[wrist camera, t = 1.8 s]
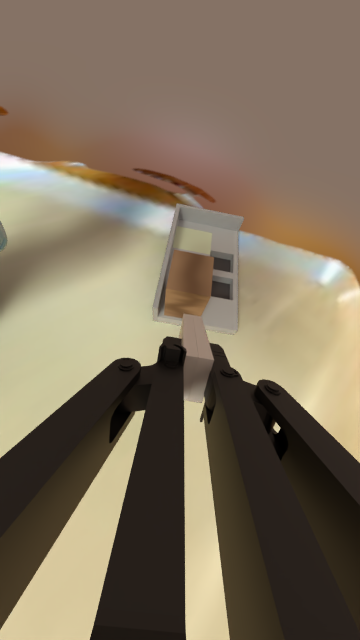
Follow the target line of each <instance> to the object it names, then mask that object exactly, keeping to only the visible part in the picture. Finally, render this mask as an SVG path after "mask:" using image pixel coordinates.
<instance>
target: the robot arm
mask: <svg viewBox="0 0 360 640" xmlns="http://www.w3.org/2000/svg"><path fill="white" fill-rule="evenodd" d="M6 245H7V235H6V232H5V229H4V227H3V225H2V223H1V221H0V251H2V250H3V249H4V248H5V247H6ZM203 397H205V404H204V407H203V411H202V414H201V418H200V422H202V420H203V418H204V423H205V432H206V440H207V449H208V457H209V466H210V474H211V483H212V491H213V499H214V508H215V516H216V525H217V533H218V542H219V550H220V559H221V567H222V576H223V584H224V593H225V601H226V610H227V618H228V627H229V635H230V640H360V463H359V462H358V461H357V460H356V459H355V458H354V457H353V456H352V455H351V454H350V453H349V452H348V451H347V450H346V449H345V448H344V447H343V446H342V445H341V444H340V443H339V442H338V441H337V440H336V439H335V438H334V437H333V436H332V435H331V434H329V433H328V432H327V431H326V430H325V429H324V428H323V427H322V426H321V425H320V424H319V423H318V422H317V421H316V420H315V419H314V418H313V417H312V416H311V415H310V414H309V413H308V412H307V411H306V410H305V409H304V408H303V407H302V406H301V405H300V404H299V403H298V402H297V401H296V400H295V399H294V398H293V397H292V396H291V395H290V394H289V393H288V392H287V391H286V390H285V389H284V388H282V387H281V386H280V385H278V384H276V383H275V382H273V381H270V380H264V379H263V380H259V381H258V383H257V385H253V384H250V383H248V382H245V381H243V379H242V377H241V375H240V374H239V372H238V371H236V370H235V369H233V368H231V367H230V365H229V362H228V360H227V358H226V355H225V353H224V350H223V348H222V347H220V346H219V345H218V344H212V343H209V341H208V337H207V334H206V330H205V327H204V323H203V320H202V317H200V316H195V315H189V314H183V319H182V324H181V329H180V334H179V338H174V337H168V336H167V337H166V338H164V339H163V343H162V344H161V346H160V347H159V353H158V360H157V362H156V363H155V364H153V365H150V366H142V367H141V364H140V363H139V362H138V361H137V360H135V359H132V358H121V359H117V360H115V361H114V362H112V363H111V364H110V365H109V366H108V367H107V368H105V369H104V370H103V371H102V372H101V373H100V374H98V375H97V376H96V377H95V378H94V379H93V380H91V381H90V382H89V383H88V384H87V385H85V386H84V387H83V388H82V389H81V390H80V391H78V392H77V393H76V394H75V395H74V396H73V397H71V398H70V399H69V400H68V401H67V402H66V403H64V404H63V405H62V406H61V407H60V408H59V409H57V410H56V411H55V412H54V413H53V414H52V415H50V416H49V417H48V418H47V419H46V420H45V421H43V422H42V423H41V424H40V425H39V426H38V427H36V428H35V429H34V430H33V431H32V432H31V433H29V434H28V435H27V436H26V437H25V438H23V439H22V440H21V441H20V442H19V443H18V444H16V445H15V446H14V447H13V448H12V449H11V450H9V451H8V452H7V453H6V454H5V455H4V456H2V457H1V458H0V629H1V628H2V626H3V624H4V623H5V621H6V620H7V618H8V616H9V615H10V613H11V612H12V610H13V608H14V607H15V605H16V604H17V602H18V600H19V599H20V597H21V596H22V594H23V592H24V591H25V589H26V587H27V586H28V584H29V583H30V581H31V579H32V578H33V576H34V575H35V573H36V571H37V570H38V568H39V567H40V565H41V563H42V562H43V560H44V559H45V557H46V555H47V554H48V552H49V551H50V549H51V547H52V546H53V544H54V543H55V541H56V539H57V538H58V536H59V535H60V533H61V531H62V530H63V528H64V527H65V525H66V523H67V522H68V520H69V519H70V517H71V515H72V514H73V512H74V510H75V509H76V507H77V506H78V504H79V502H80V501H81V499H82V498H83V496H84V494H85V493H86V491H87V490H88V488H89V486H90V485H91V483H92V482H93V480H94V478H95V477H96V475H97V474H98V472H99V470H100V469H101V467H102V466H103V464H104V462H105V461H106V459H107V458H108V456H109V454H110V453H111V451H112V450H113V448H114V446H115V445H116V443H117V442H118V440H119V438H120V437H121V435H122V433H123V432H124V430H125V429H126V427H127V425H128V424H129V422H130V421H131V419H132V417H133V416H134V414H135V411H141V410H145V414H144V419H143V423H142V427H141V431H140V435H139V439H138V444H137V448H136V452H135V456H134V460H133V464H132V468H131V473H130V477H129V481H128V485H127V489H126V493H125V498H124V502H123V506H122V510H121V514H120V518H119V523H118V527H117V531H116V535H115V539H114V543H113V548H112V552H111V556H110V560H109V564H108V568H107V573H106V577H105V581H104V585H103V589H102V593H101V597H100V602H99V606H98V610H97V614H96V618H95V622H94V626H93V630H92V633H91V637H90V640H186V630H185V508H184V400H186V401H193V402H199V403H202V401H203ZM275 422H276V423H277V424H278V425H279V426H280V428H281V429H280V431H279V432H278V433H277V432H276V431H275V430H274V429H273V427H274V424H275Z"/></svg>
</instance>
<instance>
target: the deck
mask: <svg viewBox="0 0 360 640" xmlns="http://www.w3.org/2000/svg"><path fill="white" fill-rule="evenodd" d="M243 220H244V217H241V216H236V215H231V214H226V213H222V212H217V211H212V210H206V209H202V208H197V207H192V206H187V205H183V204H178V203H177V205H176V209H175V214H174V218H173V222H172V227H171V231H170V235H169V239H168V244H167V248H166V252H165V256H164V261H163V265H162V269H161V273H160V278H159V282H158V286H157V291H156V295H155V299H154V303H153V321H157V322H163V323H169V324H174V325H180V326H181V324H182V319H183V318H177V317H171V316H166V315H164V308H165V295H166V286H167V281H168V277H169V272H170V267H171V262H172V257H173V253H174V250H179V251H185V252H190V253H195V254H200V255H205V256H210V257H214V263H213V276H212V288H211V297H210V299H209V301H208V303H207V305H206V307H205V309H204V311H203V313H202V315H201V317H202V320H203V323H204V327H205V330H209V331H215V332H220V333H226V334H232V335H234V334H235V333H236V332H237V331H238V231H239V229H240V226H241V224H242V222H243Z"/></svg>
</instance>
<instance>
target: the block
mask: <svg viewBox="0 0 360 640" xmlns="http://www.w3.org/2000/svg"><path fill="white" fill-rule="evenodd" d="M213 263H214V257H210V256H205V255H200V254H195V253H190V252H185V251H179V250H174V253H173V257H172V262H171V267H170V272H169V277H168V281H167V286H166V295H165V308H164V315H166V316H171V317H177V318H183V314H189V315H195V316H200V317H201V315H202V313H203V311H204V309H205V307H206V305H207V303H208V301H209V299H210V297H211V288H212V276H213Z"/></svg>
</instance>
